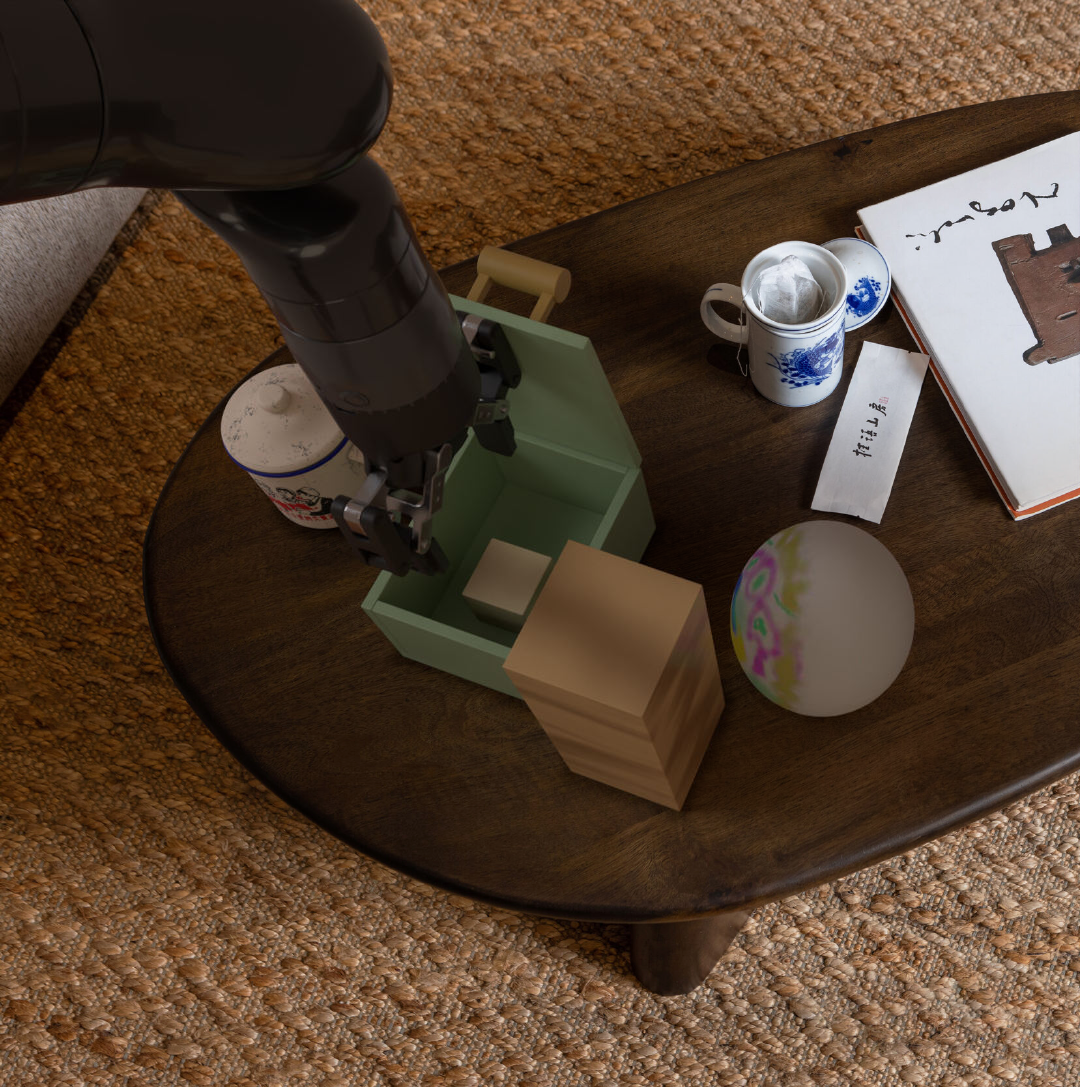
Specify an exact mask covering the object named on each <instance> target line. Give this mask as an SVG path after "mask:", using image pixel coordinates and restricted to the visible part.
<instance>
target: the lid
mask: <svg viewBox="0 0 1080 1087" xmlns="http://www.w3.org/2000/svg"><path fill="white" fill-rule="evenodd" d="M476 273H477V277H476V278H475V281H474V283H473V284H472V287H471V289H470V290H469V293H468V295H467V296H466V298H465V297H462V296H459V295H455V294H452V293H449V292H447V293H448V295H449V298H450V300H451V303H452V305H453V307H454V310H455V311H457V310H460V311H463V312H467V313H470V314H473V315H476V316H479V317H482V318H485V319H489V320H492V321H495V322H498V323H500V325H501V327H502V330H503V332H504V334H505V336H506V339H507V341H508V343H509V345H510V347H511V350H512V352H513V354H514V356H515V359H516V361H517V363H518V365H519V368H520V370H521V373H522V377H521V381H520V384H519V386H518V387H517V388H516V389H512V388H509V390H508V393H507V395H506V399H508V400H509V401H510V409H509V412H508V415H509V418H510V421H511V423H512V425H513V428H514V429H517V430H520V431H524V432H527V433H530V434H533V435H536V436H539V437H542V438H545V439H548V440H551V441H554V442H557V443H560V444H563V445H566V446H569V447H572V448H575V449H578V450H581V451H584V452H587V453H590V454H593V455H596V456H599V457H602V458H605V459H608V460H611V461H614V462H617V463H620V464H623V465H626V466H629V467H632V468H635V469H639V468H640V466H641V464H642V462H643V458H642V455H641V453H640V451H639V449H638V446H637V444H636V442H635V440H634V437H633V435H632V432H631V430H630V428H629V426H628V423H627V421H626V419H625V416H624V415H623V412H622V410H621V408H620V405H619V403H618V400H617V399H616V396H615V394H614V392H613V390H612V387H611V385H610V382H609V380H608V378H607V375H606V372H605V371H604V369H603V366H602V364H601V362H600V359H599V357H598V354H597V352H596V350H595V348H594V345H593V344H592V341H591V339H590V337H587V336H585V335H581V334H578V333H575V332H572V331H569V330H565V329H563V328H560V327H557V326H553V325H550V324H546V322H547V320H548V318H549V316H550V314H551V312H552V311H553V308H554V306H555V304H556V303H557V304H561V303H563V302H564V301H565V300H566V299H567V297H568V294H569V293H570V289H571V285H572V275H571V271H570V270H569V269H567V268H565V267H561V266H559V265H555V264H553V263H552V264H551V263H549V262H545V261H542V260H540V259H539V260H538V259H535V258H533V257H529V256H525V255H522V254H519V253H515V252H513V251H509V250H506V249H502V248H500V247H496V246H493V245H487V246H485V247H484V248H483V249H482V250H481V252H480V254H479V256H478V259H477V265H476ZM493 284H495V285H500V286H503V287H505V288H509V289H512V290H515V291H519V292H521V293H525V294H528V295H531V296H534V297H538V300H537V302H536V304H535V306H534V308H533V310H532V312H531V314H530V316H529V318H528V317H526V316H525V317H524V316H521V315H518V314H515V313H513V312H509V311H506V310H503V309H499V308H496V307H493V306H490V305H487V304H484V300H485V299H486V297H487V295H488V293H489V292H490V289H491V288H492V286H493Z"/></svg>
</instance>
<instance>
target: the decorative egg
mask: <svg viewBox="0 0 1080 1087" xmlns="http://www.w3.org/2000/svg"><path fill="white" fill-rule="evenodd" d="M909 584H910V583H909V581H908V579H907V576H906V574H905V573H904V570H903V569H902V566H901V565H900V564H899V562H898V561H897V559H896V558H895V556H894V555H893V554H892V553H891V552H890V550H889V549H888V548H887V546H885V545H884V544H883V543H882V542H881V541H880V540H878V538H876V537H874V536H873V535H872V534H870V533H868V532H867V531H865V530H863V529H861V528H860V527H857V526H855V525H852V524H849V523H846V522H842V521H836V520H826V519H825V520H824V519H823V520H822V519H819V520H810V521H809V520H807V521H805V522H801V523H797V524H794V525H792V526H789V527H786V528H785V529H782V530H781V531H779V532H777V533H776V534H774V535H773V536H771V537H770V538H769V539H768V540H766V541H765V542H764V543H763V544H762V545H760V547H759V548H757V550H756V551H755V553H754V554H752V556H751V557H750V558H749V560H748V561H747V562H746V564H745V566H744V568H742V571H741V573H740V575H739V576H738V580H737V582H736V585H735V588H734V591H733V595H732V599H731V605H730V616H729V618H730V619H729V620H730V621H729V626H730V637H731V642H732V646H733V649H734V652H735V655H736V658H737V661H738V662H739V665H740V667H741V669H742V670H743V672H744V673H745V675H746V676H747V679H749V681H750V682H751V684H752V685H753V686H754V687H755V688H756V689H757V690H758V691H759V692H760V693H761V694H762V695H763V696H764V697H765V698H766V699H768V700H770V701H771V702H772V703H773V704H775V705H777V706H779V707H781V708H783V709H785V710H787V711H790V712H793V713H796V714H799V715H803V716H808V717H823V718H824V717H825V718H827V717H837V716H841V715H845V714H848V713H852V712H854V711H857V710H859V709H861V708H863V707H865V706H867V705H869V704H871V703H872V702H873V701H875V700H877V698H879V697H880V696H881V695H883V693H884V692H885V691H887V689H889V688H890V687H891V685H892V684H893V683H894V682H895V681H896V680H897V678H898V676H899V675H900V673H901V672H902V669H903V667H904V666H905V664H906V663H907V659H908V658H909V654H910V651H911V648H912V644H913V641H914V640H913V639H914V634H915V625H916V624H915V623H916V621H915V620H916V619H915V618H916V617H915V616H916V615H915V606H914V599H913V598H914V597H913V595H912V591H911V588H910V585H909Z"/></svg>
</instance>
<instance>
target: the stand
mask: <svg viewBox="0 0 1080 1087" xmlns="http://www.w3.org/2000/svg"><path fill="white" fill-rule="evenodd" d="M712 634H713V633H712V630H711V623H710V619H709V613H708V609H707V602H706V599H705V593H704V587H703V585H702V584H700V583H697V582H694V581H691V580H689V579H685V578H683V577H679V576H677V575H675V574H671V573H668V572H666V571H662V570H659V569H658V568H657V569H656V568H653V567H650V566H648V565H645V564H642V563H640V562H639V563H636V562H633V561H630V560H627V559H624V558H622V557H619V556H616V555H613V554H610V553H607V552H604V551H601V550H598V549H595V548H592V547H589V546H587V545H584V544H581V543H578V542H575V541H572V540H568V542H567V544H566V546H565V547H564V549H563V551H562V553H561V555H560V557H559V559H558V561H557V563H556V565H555V567H554V569H553V570H552V572H551V574H550V576H549V578H548V580H547V582H546V584H545V586H544V588H543V590H542V592H541V593H540V595H539V597H538V599H537V601H536V603H535V605H534V607H533V609H532V611H531V613H530V615H529V616H528V618H527V620H526V622H525V624H524V626H523V628H522V630H521V632H520V634H519V636H518V638H517V639H516V641H515V643H514V645H513V647H512V649H511V651H510V653H509V655H508V657H507V659H506V661H505V663H504V664H503V668H504V670H505V671H506V673H507V674H508V676H509V678H510V679H511V681H512V682H513V684H514V685H515V687H516V688H517V690H518V691H519V693H520V694H521V696H522V697H523V699H524V700H523V701H524V702H525V704H526V705H527V706H528V708H529V710H530V711H531V713H532V714H533V716H534V717H535V719H536V721H537V722H538V724H539V725H540V726H541V727H542V729H543V731H544V733H545V734H546V735H547V737H548V739H549V740H550V741H551V743H552V744H553V746H554V748H555V749H556V751H557V752H558V753H559V755H560V756H561V758H562V759H563V761H564V762H565V764H566V765H567V767H568V769H569V771H570V772H573V773H575V774H577V775H580V776H583V777H585V778H588V779H591V780H594V781H596V782H599V783H602V784H604V785H607V786H610V787H613V788H615V789H618V790H620V791H623V792H626V793H629V794H631V795H634V796H636V797H639V798H643V799H644V800H648V801H650V802H653V803H656V804H658V805H661V806H664V807H666V808H669V809H671V810H675V811H677V812H681V810H682V808H683V806H684V803H685V801H686V799H687V796H688V794H689V792H690V789H691V787H692V785H693V782H694V779H695V778H696V775H697V773H698V770H699V768H700V765H701V763H702V761H703V759H704V756H705V753H706V751H707V749H708V747H709V744H710V742H711V739H712V737H713V735H714V733H715V730H716V728H717V725H718V724H719V721H720V718H721V716H722V713H723V711H724V709H725V706H726V701H725V695H724V690H723V686H722V680H721V676H720V670H719V665H718V660H717V655H716V649H715V644H714V640H713V635H712Z"/></svg>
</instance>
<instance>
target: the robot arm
mask: <svg viewBox="0 0 1080 1087" xmlns="http://www.w3.org/2000/svg"><path fill="white" fill-rule="evenodd" d="M389 54H390V53H389V51H388V49H387V45H386V43H385V40H384V38H383V36H382V34H381V32H380V30H379V28H378V27H377V25H376V24H375V22H374V20H372V18H371V17H370V16H369V14H368V12H366V11H365V9H364V8H363V7H362V6H361V4H360V3H358V2H357V1H356V0H0V207H5V206H10V205H17V204H23V203H29V202H35V201H41V200H45V199H46V200H47V199H50V198H57V197H62V196H63V197H64V196H68V195H72V194H76V193H80V192H83V191H87V190H93V189H105V188H107V189H108V188H130V189H131V188H133V189H151V190H152V189H153V190H154V189H155V190H167V191H168V193H170V194H172V196H173V197H174V198H175V199H177V201H178V202H179V203H180V204H182V206H183V207H185V208H186V210H188V211H189V213H190V214H192V215H193V216H194V217H195V218H196V219H197V220H199V221H200V222H201V223H202V224H203V225H204V226H206V227H207V229H210V231H212V233H214V234H215V235H216V236H218V237H219V238H220V239H221V240H222V241H223V242H224V243H225V244H226V245H227V246H228V247H229V248H230V249H232V251H233V252H234V253H235V254H236V256H237V258H238V260H239V261H240V263H241V265H242V267H243V269H244V270H245V272H246V273H247V275H248V276H249V278H250V280H251V281H252V283H253V284H254V286H255V287H256V289H257V291H258V292H259V294H260V296H261V297H262V299H263V300H264V302H265V304H266V305H267V306H268V308H269V309H270V312H272V314H273V317H274V318H275V320H276V323H277V325H278V327H279V331H280V333H281V336H282V338H283V340H284V343H285V345H286V346H287V348H288V350H289V351H290V353H291V355H292V357H293V358H294V361H296V364H298V365H299V366H300V368H301V369H302V371H303V372H304V374H305V375H306V377H307V378H308V380H309V382H310V383H311V385H312V386H313V388H314V389H315V391H316V393H317V394H318V396H319V397H320V399H321V400H322V402H323V403H324V405H325V407H326V408H327V410H328V411H329V413H330V414H331V416H332V417H333V419H334V421H335V422H336V424H337V425H338V427H339V428H340V430H341V431H342V432H343V433H344V435H345V436H346V437H347V438H348V439H349V440H350V441H351V442H352V443H353V444H354V445H355V446H356V447H357V448H358V449H359V450H360V451H361V452H362V454H363V458H364V470H365V473H366V475H367V478H366V480H365V481H364V483H363V484H362V486H361V487H360V489H359V490H358V492H357V493H356V495H355V496H354V497H353V498H350V497H347V496H344V495H338V496H337V497H336V498H335V499H334V500H333V502H332V505H331V509H330V512H331V515H332V517H333V519H334V520H335V522H336V523H337V525H338V527H337V528H339V530H340V532H341V533H342V535H343V536H344V538H345V540H346V542H347V543H348V545H349V546H350V548H351V550H352V551H353V553H354V554H355V556H356V557H357V560H358V561H359V562H360V563H361V564H363V565H366V566H369V567H374V568H377V569H380V570H381V571H382V570H385V571H388V572H391V573H392V574H394V575H396V576H399V577H405V576H406V575H407V574H408V572H409V571H410V569H411V570H413V571H416V572H419V573H422V574H425V575H427V576H431V577H434V575H435V574H436V573H439V574H443V575H444V574H445V572H446V571H447V569H448V567H449V565H450V562H449V560H448V559H447V557H446V555H445V554H444V552H443V550H442V549H441V547H440V545H439V544H438V542H437V540H436V539H435V537H432V527H433V516H435V515H436V514H438V513H439V512H441V510H442V508H443V496H444V485H445V474H446V473H447V471H448V469H449V467H450V465H451V463H452V460H453V458H454V456H455V455H456V453H457V452H458V451H459V450H460V449H461V448H462V446H463V444H464V443H465V441H466V439H467V438H468V434H467V432H468V429H469V427H472V428H473V431H474V433H475V435H476V437H477V439H478V442H479V444H480V445H481V446H482V447H483V448H485V449H486V450H489V451H492V452H495V453H498V454H501V455H504V456H507V457H512V455H513V454H514V452H515V450H516V448H517V444H516V442H515V440H514V428H513V425H512V423H511V421H510V418H509V415H508V412H509V409H510V401H509V400H508V399H506V395H507V393H508V390H509V388H512V389H516V388H517V387H518V386H519V384H520V381H521V377H522V373H521V370H520V368H519V365H518V363H517V361H516V359H515V356H514V354H513V352H512V350H511V347H510V345H509V343H508V341H507V339H506V336H505V334H504V332H503V330H502V327H501V325H500V323H498V322H495V321H492V320H489V319H485V318H482V317H479V316H476V315H473V314H470V313H467V312H463V311H460V310H457V311H455V310H454V307H453V305H452V303H451V300H450V298H449V295H448V293H449V292H448V290H447V288H446V287H445V284H444V282H443V280H442V279H441V277H440V275H439V274H438V272H437V270H436V269H435V267H434V266H433V264H432V263H431V261H430V259H429V258H428V256H427V255H426V253H425V251H424V249H423V245H422V244H421V242H420V239H419V237H418V234H417V232H416V230H415V227H414V225H413V223H412V219H411V218H410V215H409V213H408V210H407V209H406V208H407V207H406V206H405V203H404V201H403V199H402V196H401V195H400V193H399V190H398V189H397V187H396V186H395V183H394V182H393V181H392V179H391V177H390V176H389V174H388V173H387V171H386V170H385V169H384V167H383V166H382V165H380V164H379V163H378V162H377V161H376V160H375V159H374V158H373V157H371V156H370V155H369V154H368V153H369V152H370V151H371V150H372V148H373V147H374V146H375V144H376V143H377V141H378V140H379V138H380V136H381V134H382V133H383V131H384V130H385V127H386V126H387V122H388V119H389V118H390V117H389V116H390V114H391V112H392V111H391V110H392V106H393V101H394V93H395V92H394V90H395V85H394V84H395V82H394V81H395V80H394V71H393V65H392V61H391V57H390V55H389ZM420 487H423V493H422V494H419V493H416V492H412V491H410V490H407V489H415V488H420ZM402 514H404V515H407V516H409V517H411V518H412V519H413V528H412V527H409V525H406V524H404V523H401V520H402ZM412 519H411V520H412Z"/></svg>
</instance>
